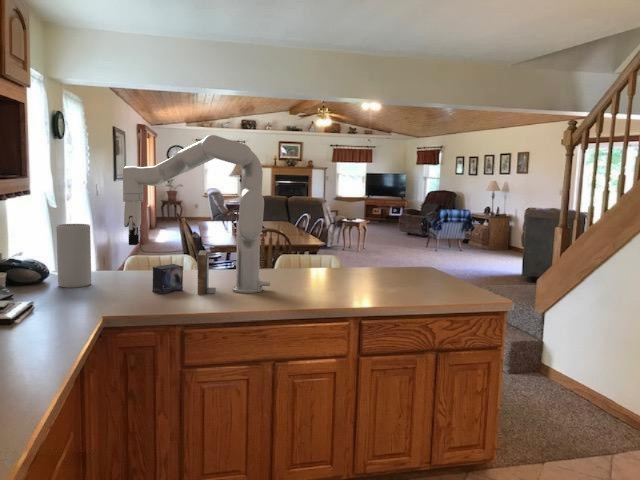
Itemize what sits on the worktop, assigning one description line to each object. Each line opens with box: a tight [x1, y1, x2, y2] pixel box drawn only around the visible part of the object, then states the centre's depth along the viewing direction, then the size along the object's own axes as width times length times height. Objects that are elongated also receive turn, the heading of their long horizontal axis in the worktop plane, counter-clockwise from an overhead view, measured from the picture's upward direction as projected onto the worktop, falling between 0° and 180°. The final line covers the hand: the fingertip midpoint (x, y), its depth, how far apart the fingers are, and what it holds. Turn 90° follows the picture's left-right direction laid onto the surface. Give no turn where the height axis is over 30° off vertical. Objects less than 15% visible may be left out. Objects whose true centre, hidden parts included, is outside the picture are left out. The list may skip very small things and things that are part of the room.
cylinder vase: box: [55, 223, 92, 289], centre depth 209 cm, size 12×12×25 cm
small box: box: [152, 263, 184, 295], centre depth 205 cm, size 11×6×10 cm, turn 143°
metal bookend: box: [205, 254, 217, 295], centre depth 207 cm, size 4×11×14 cm, turn 9°
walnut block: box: [197, 249, 208, 296], centre depth 207 cm, size 3×12×16 cm, turn 9°
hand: (133, 244), depth 201 cm, fingers closed
